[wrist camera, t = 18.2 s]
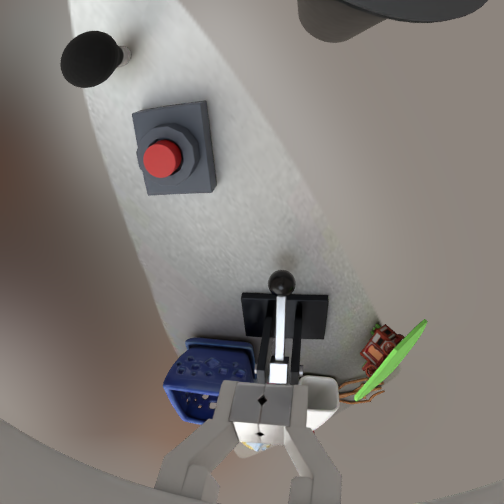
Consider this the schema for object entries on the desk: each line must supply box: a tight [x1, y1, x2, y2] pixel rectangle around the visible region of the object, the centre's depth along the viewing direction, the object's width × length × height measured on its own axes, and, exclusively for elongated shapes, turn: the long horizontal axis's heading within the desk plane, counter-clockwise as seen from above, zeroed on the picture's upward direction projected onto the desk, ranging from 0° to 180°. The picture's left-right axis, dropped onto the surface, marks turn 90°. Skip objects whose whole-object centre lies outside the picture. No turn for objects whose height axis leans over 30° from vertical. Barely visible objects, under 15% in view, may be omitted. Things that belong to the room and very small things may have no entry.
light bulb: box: [61, 31, 131, 88], centre depth 24 cm, size 6×6×10 cm
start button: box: [143, 140, 182, 178], centre depth 30 cm, size 4×4×2 cm
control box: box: [132, 101, 217, 195], centre depth 32 cm, size 10×8×4 cm
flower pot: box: [163, 338, 257, 425], centre depth 48 cm, size 13×13×12 cm
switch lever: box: [268, 270, 296, 384], centre depth 37 cm, size 14×3×3 cm, turn 5°
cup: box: [298, 375, 339, 431], centre depth 54 cm, size 7×7×15 cm
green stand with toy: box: [354, 319, 427, 402], centre depth 43 cm, size 15×15×6 cm
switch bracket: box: [241, 293, 328, 387], centre depth 41 cm, size 8×12×12 cm, turn 94°
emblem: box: [338, 377, 385, 404], centre depth 55 cm, size 12×10×1 cm
